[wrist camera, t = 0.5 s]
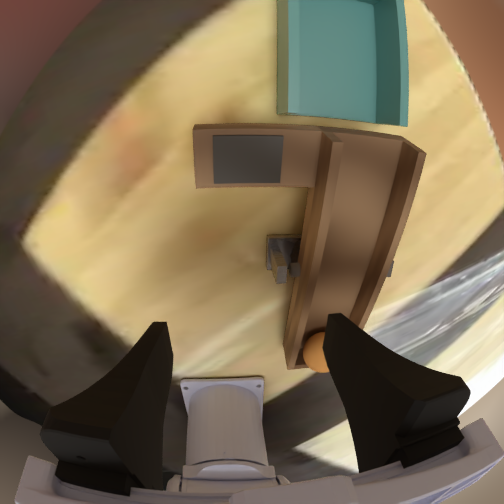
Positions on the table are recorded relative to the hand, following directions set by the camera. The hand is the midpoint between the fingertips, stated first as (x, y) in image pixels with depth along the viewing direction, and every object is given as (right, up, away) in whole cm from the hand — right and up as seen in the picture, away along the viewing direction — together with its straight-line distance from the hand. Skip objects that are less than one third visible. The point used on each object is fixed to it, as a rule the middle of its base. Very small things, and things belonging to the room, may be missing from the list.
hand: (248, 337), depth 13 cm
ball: (+6, -4, +9) cm, 11 cm away
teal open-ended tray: (+5, +17, +3) cm, 18 cm away
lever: (+3, +3, +7) cm, 8 cm away
